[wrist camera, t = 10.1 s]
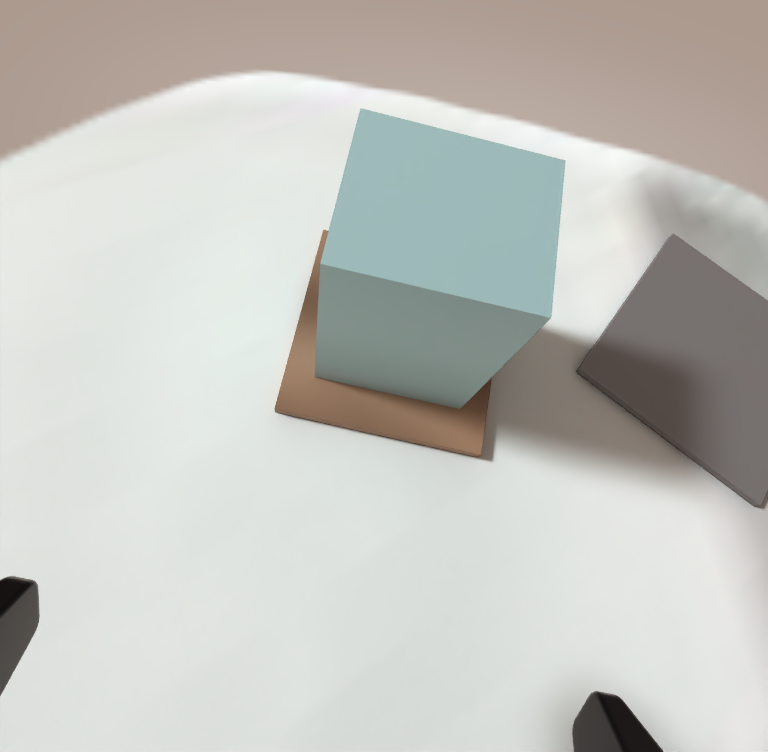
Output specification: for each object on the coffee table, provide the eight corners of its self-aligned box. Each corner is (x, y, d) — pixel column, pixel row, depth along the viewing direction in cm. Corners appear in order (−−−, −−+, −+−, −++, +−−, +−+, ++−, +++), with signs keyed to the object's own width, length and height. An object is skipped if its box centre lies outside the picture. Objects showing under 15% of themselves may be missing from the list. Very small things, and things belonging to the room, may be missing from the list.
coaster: (477, 457, 24) (481, 454, 24) (275, 412, 24) (274, 408, 23) (501, 280, 27) (505, 274, 27) (323, 236, 27) (323, 229, 26)
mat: (754, 506, 25) (760, 505, 25) (576, 371, 26) (580, 368, 26) (829, 352, 29) (836, 349, 28) (668, 237, 30) (673, 233, 29)
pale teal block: (460, 409, 24) (550, 317, 15) (314, 376, 24) (319, 263, 15) (475, 299, 26) (565, 160, 17) (341, 267, 26) (360, 108, 17)
